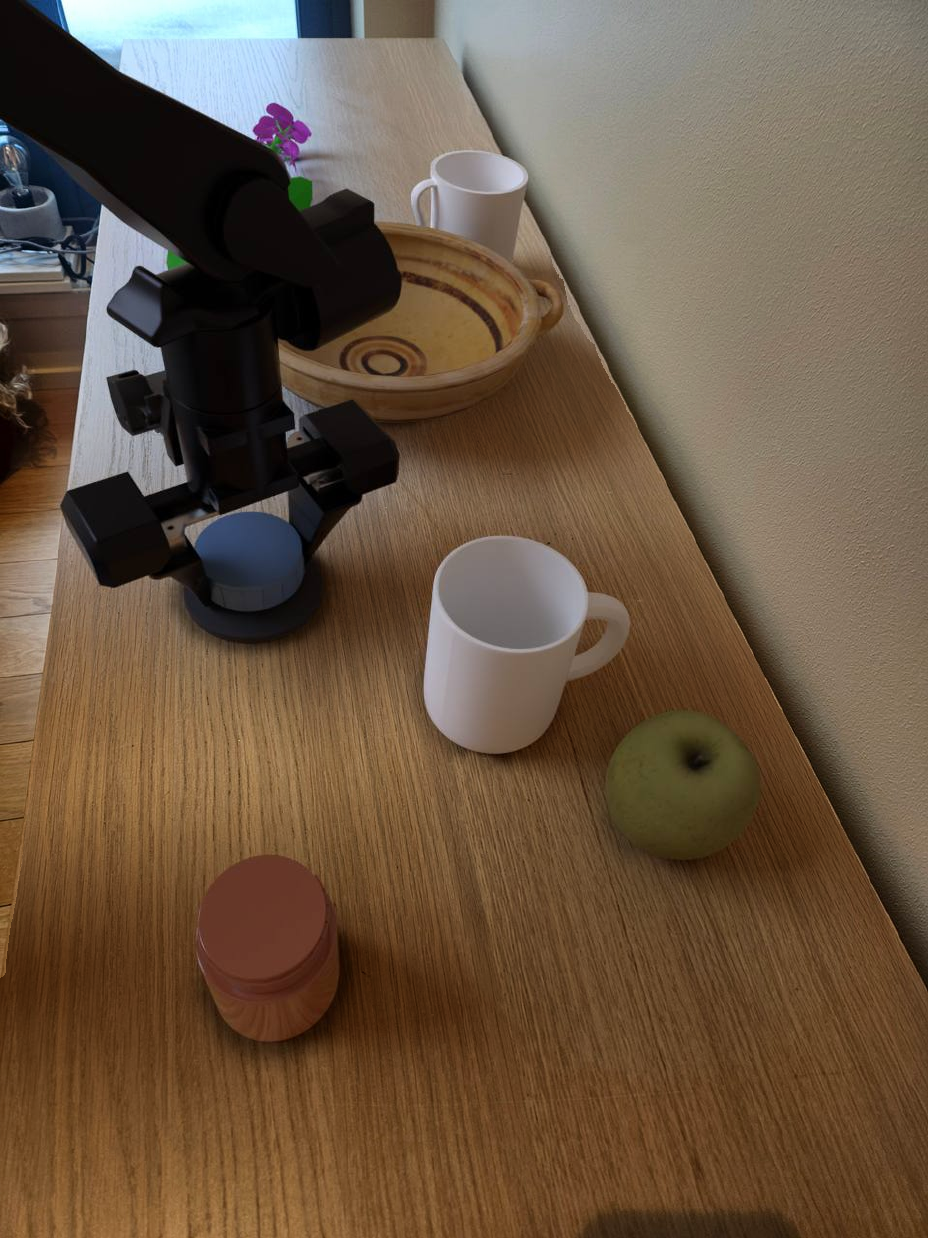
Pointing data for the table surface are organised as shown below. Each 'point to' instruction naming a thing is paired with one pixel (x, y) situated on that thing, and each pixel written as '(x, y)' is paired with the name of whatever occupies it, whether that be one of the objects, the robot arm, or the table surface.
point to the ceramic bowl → (430, 333)
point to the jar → (268, 947)
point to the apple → (682, 785)
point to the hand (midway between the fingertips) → (253, 582)
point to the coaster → (261, 613)
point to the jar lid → (251, 560)
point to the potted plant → (282, 142)
